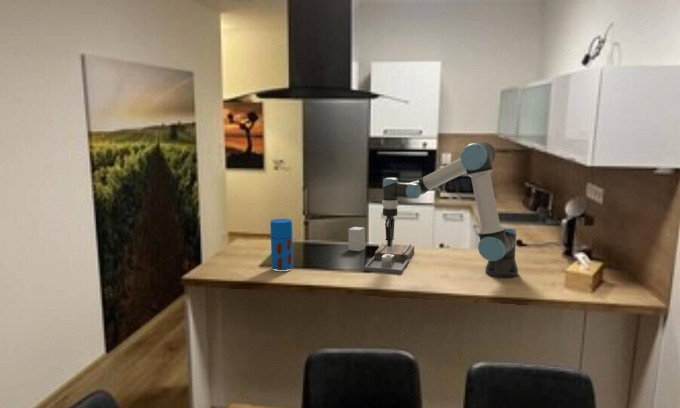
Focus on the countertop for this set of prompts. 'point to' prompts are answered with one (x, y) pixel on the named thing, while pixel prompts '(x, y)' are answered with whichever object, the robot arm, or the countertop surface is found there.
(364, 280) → the countertop surface
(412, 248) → the slot board
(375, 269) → the tray
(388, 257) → the beige block
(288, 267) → the thermos
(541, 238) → the countertop surface
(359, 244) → the supplement box
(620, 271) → the countertop surface
